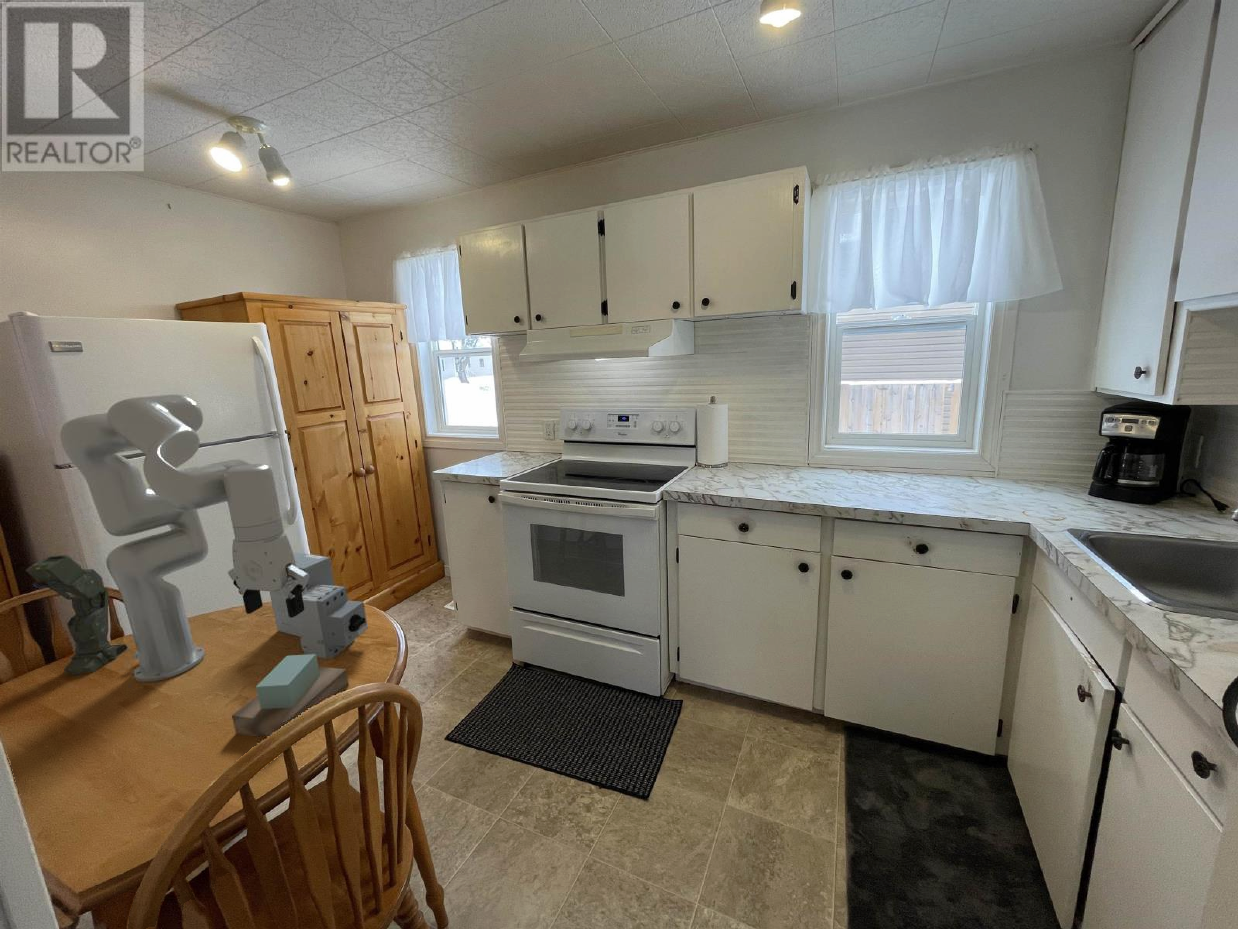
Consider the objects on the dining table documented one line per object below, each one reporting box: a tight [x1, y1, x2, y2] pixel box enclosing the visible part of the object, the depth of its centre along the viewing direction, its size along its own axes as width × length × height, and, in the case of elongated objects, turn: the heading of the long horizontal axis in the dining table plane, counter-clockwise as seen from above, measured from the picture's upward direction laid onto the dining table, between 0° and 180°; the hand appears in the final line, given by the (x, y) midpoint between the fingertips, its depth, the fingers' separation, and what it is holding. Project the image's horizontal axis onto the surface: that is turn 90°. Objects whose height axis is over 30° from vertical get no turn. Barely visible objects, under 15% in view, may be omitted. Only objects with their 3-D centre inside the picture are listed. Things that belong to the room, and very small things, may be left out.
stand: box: [231, 666, 350, 738], centre depth 103 cm, size 12×16×4 cm
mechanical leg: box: [25, 554, 129, 676], centre depth 118 cm, size 14×7×30 cm, turn 5°
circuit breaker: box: [297, 585, 369, 659], centre depth 122 cm, size 8×14×15 cm, turn 79°
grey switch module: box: [269, 551, 336, 638], centre depth 131 cm, size 16×8×20 cm, turn 68°
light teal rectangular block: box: [255, 654, 320, 709], centre depth 102 cm, size 10×6×5 cm, turn 3°
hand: (275, 612), depth 99 cm, fingers open, 9 cm apart
